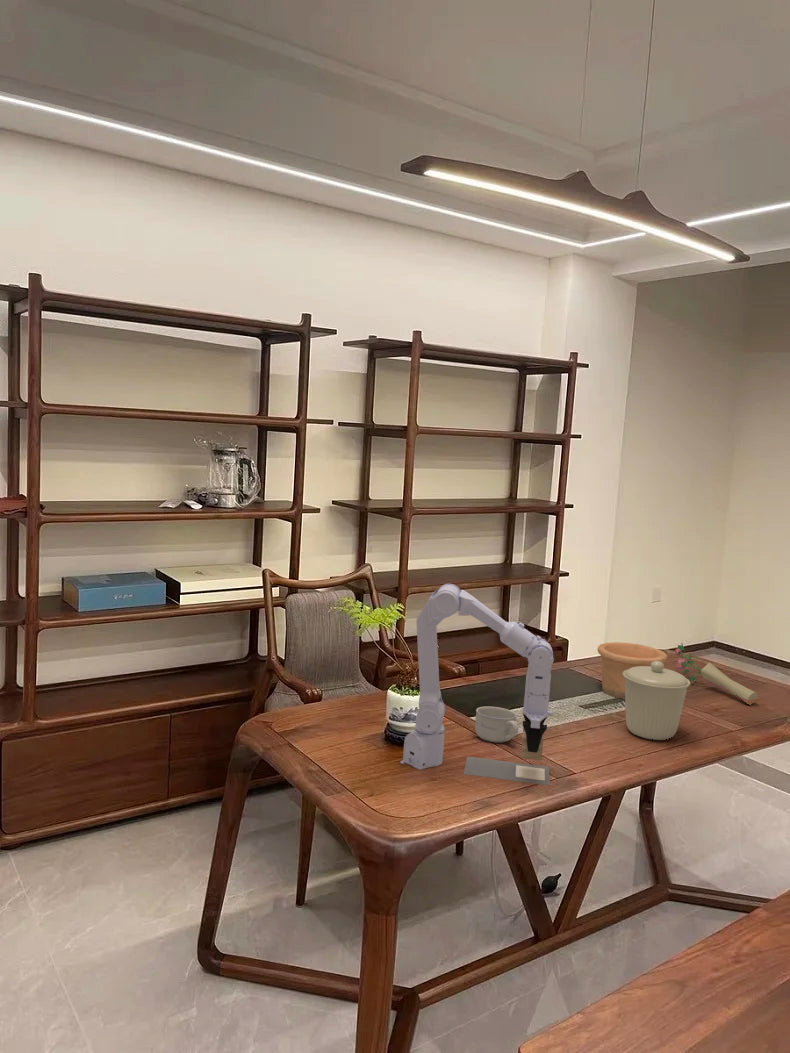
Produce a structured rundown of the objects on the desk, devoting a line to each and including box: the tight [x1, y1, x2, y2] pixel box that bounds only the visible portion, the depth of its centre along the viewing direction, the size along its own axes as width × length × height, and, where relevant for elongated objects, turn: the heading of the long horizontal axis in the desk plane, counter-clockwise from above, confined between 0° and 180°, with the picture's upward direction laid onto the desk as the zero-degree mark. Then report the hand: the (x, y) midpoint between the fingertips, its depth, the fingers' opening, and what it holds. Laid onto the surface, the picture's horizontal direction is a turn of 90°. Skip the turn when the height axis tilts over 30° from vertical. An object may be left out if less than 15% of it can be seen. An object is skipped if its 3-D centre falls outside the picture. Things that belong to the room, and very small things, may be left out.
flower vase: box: [674, 643, 759, 700], centre depth 276 cm, size 12×12×35 cm
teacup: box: [474, 706, 519, 744], centre depth 213 cm, size 14×11×8 cm
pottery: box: [597, 641, 668, 700], centre depth 265 cm, size 22×22×14 cm
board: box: [463, 755, 551, 786], centre depth 193 cm, size 20×11×1 cm, turn 80°
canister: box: [623, 661, 691, 741], centre depth 227 cm, size 18×18×21 cm
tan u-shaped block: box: [520, 726, 544, 761], centre depth 191 cm, size 5×5×6 cm
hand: (532, 747), depth 191 cm, fingers closed on tan u-shaped block, 5 cm apart
